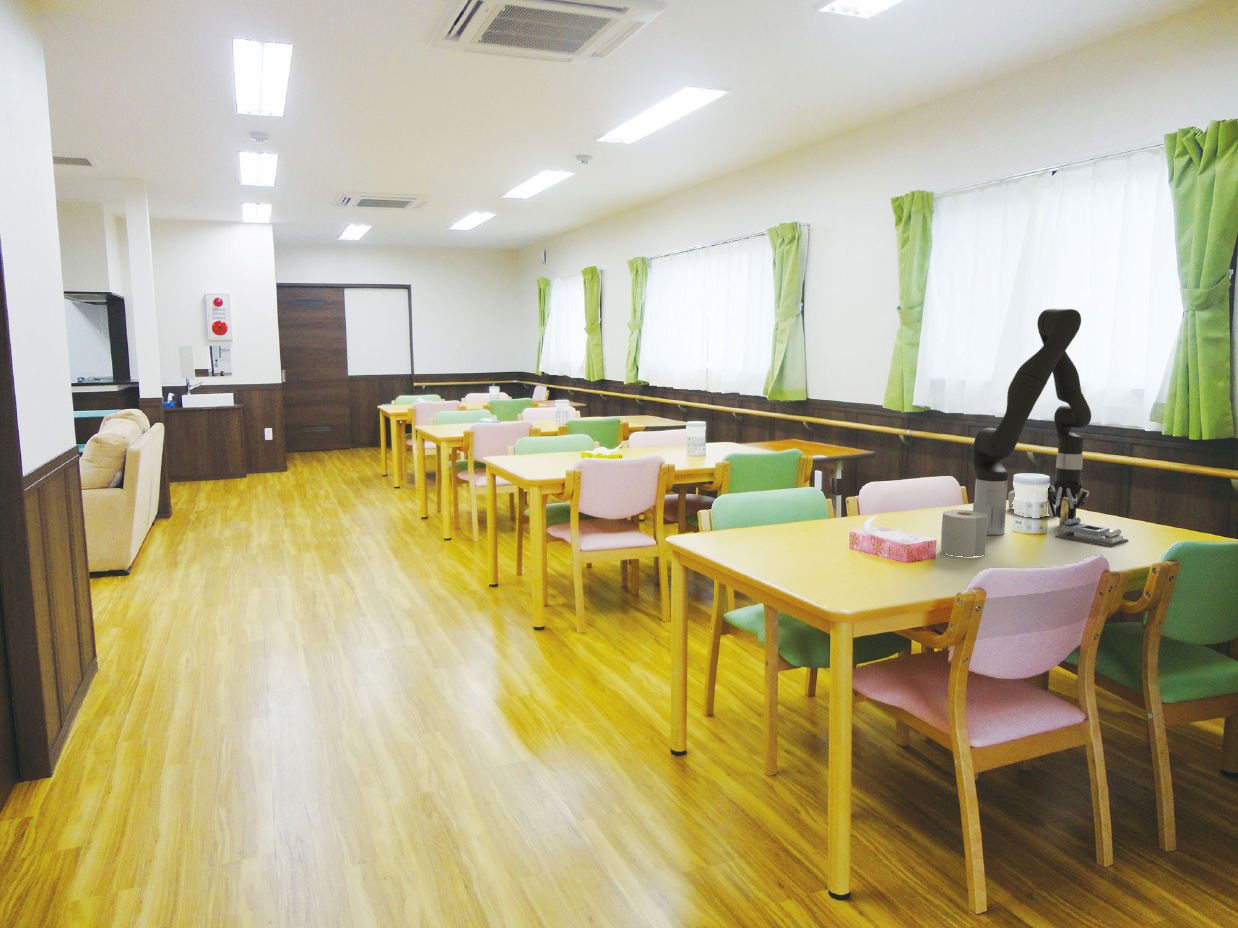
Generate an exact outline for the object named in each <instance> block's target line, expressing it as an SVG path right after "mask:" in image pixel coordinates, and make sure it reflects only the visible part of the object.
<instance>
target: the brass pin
mask: <svg viewBox="0 0 1238 928" xmlns="http://www.w3.org/2000/svg"><path fill="white" fill-rule="evenodd" d="M1069 509H1070V504H1069V501H1068V498H1067V497H1065V498H1062V499H1061V508H1060V518H1059V522H1058V523H1059V527H1061V525H1064V521H1065V520H1069V519H1068V518H1069Z"/></svg>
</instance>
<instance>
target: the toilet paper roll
mask: <svg viewBox="0 0 1238 928" xmlns="http://www.w3.org/2000/svg"><path fill="white" fill-rule="evenodd" d="M940 535H941V536H940V541H941V542H940V545H941V546H940V549H941V550H940V552H941V551H942V552H943V553H946V554H948V555H953V556H963V557H973V556H982V555H984V556H985V554H986V548H987V547H986V545H987V536H988V535H987V515H986V514H984V513H981V512H977V511H973V510H967V509H949V510H944V511H943V512H942V519H941V534H940ZM942 552H941V553H942ZM943 553H942V554H943ZM948 555H947V556H948Z"/></svg>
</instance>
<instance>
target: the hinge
mask: <svg viewBox="0 0 1238 928" xmlns="http://www.w3.org/2000/svg"><path fill="white" fill-rule="evenodd" d="M1007 496H1008V497H1007V498H1008V509H1009V510H1011V509H1012V507H1013V504H1012V502H1013V500H1014V497H1015V491H1014V489H1012V490H1011V491H1009V492H1008V493H1007ZM1048 514H1049V517H1048V518H1052V517H1054V516H1056V505H1054V504H1051V503H1050V500H1049V497H1048Z"/></svg>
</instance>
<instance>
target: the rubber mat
mask: <svg viewBox="0 0 1238 928" xmlns="http://www.w3.org/2000/svg"><path fill="white" fill-rule="evenodd" d="M1054 538H1056V539H1057V538H1058V539H1062V540H1063V539H1064V540H1069V541H1073V542H1074V541H1075V542H1080V543H1085V544H1090V543H1091V545H1095V546H1096V545H1097V546H1100V547H1106V546H1109V547H1108V548H1111V547H1114V545H1115V546H1117V545H1120V544H1124V543H1127V542H1129V539H1128V538H1123V541H1119V542H1116V543H1113V544H1110V543H1104V542H1099V541H1093V540H1088V539H1082V538H1077V537H1074V532H1070V531H1066V532H1062V533H1059V534H1056V535H1054Z"/></svg>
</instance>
